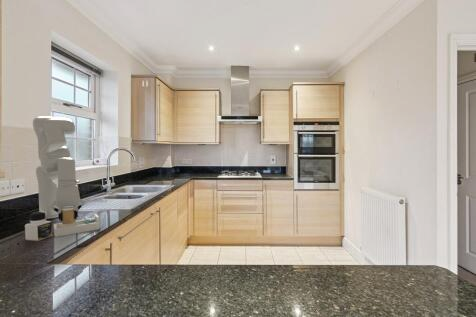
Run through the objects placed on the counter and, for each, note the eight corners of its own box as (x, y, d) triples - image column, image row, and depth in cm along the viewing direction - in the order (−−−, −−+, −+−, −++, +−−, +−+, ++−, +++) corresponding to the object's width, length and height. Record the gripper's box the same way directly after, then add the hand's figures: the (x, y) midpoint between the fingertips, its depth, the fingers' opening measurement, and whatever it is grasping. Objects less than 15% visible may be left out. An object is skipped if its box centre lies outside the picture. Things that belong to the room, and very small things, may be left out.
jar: (61, 222, 136) (60, 207, 136) (74, 220, 140) (74, 205, 139) (61, 224, 132) (61, 209, 131) (75, 222, 135) (75, 207, 135)
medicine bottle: (38, 241, 122) (37, 214, 122) (25, 240, 124) (23, 213, 123) (52, 235, 129) (51, 210, 129) (39, 235, 131) (38, 210, 130)
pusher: (84, 224, 143) (84, 216, 143) (93, 222, 146) (93, 215, 146) (86, 227, 137) (86, 219, 137) (96, 226, 139) (96, 218, 139)
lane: (53, 230, 137) (53, 219, 137) (96, 224, 148) (95, 213, 148) (54, 236, 128) (54, 223, 128) (99, 229, 139) (99, 217, 139)
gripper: (85, 181, 143) (87, 215, 144) (45, 184, 133) (47, 221, 134) (87, 182, 137) (89, 218, 138) (45, 185, 127) (47, 224, 128)
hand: (68, 219), depth 136 cm, fingers closed on jar, 5 cm apart
